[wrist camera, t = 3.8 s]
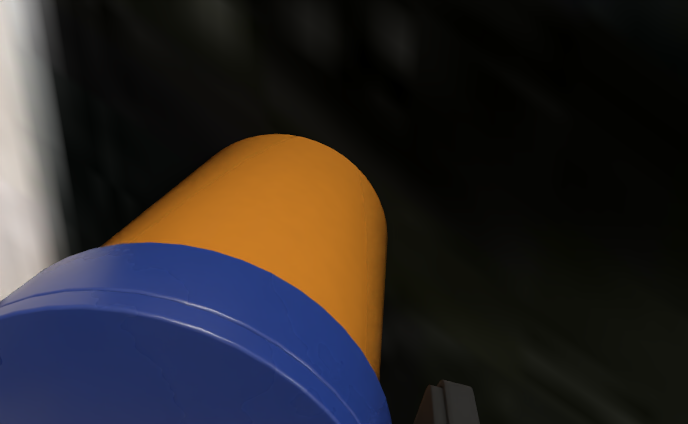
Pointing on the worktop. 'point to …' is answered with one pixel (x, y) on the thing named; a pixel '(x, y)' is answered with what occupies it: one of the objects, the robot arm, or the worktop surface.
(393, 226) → the worktop surface
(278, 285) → the lid
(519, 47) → the worktop surface
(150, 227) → the jar
